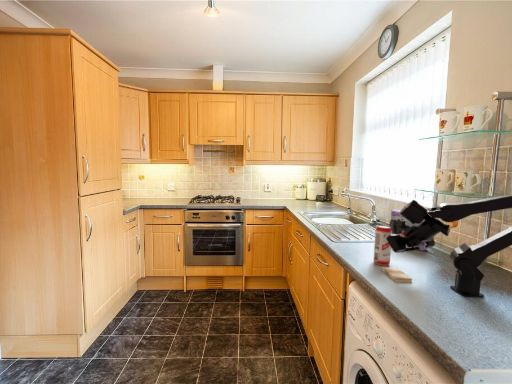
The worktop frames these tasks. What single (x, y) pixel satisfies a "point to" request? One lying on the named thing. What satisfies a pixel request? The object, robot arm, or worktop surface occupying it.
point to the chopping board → (396, 274)
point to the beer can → (382, 245)
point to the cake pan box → (396, 230)
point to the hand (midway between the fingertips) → (396, 251)
